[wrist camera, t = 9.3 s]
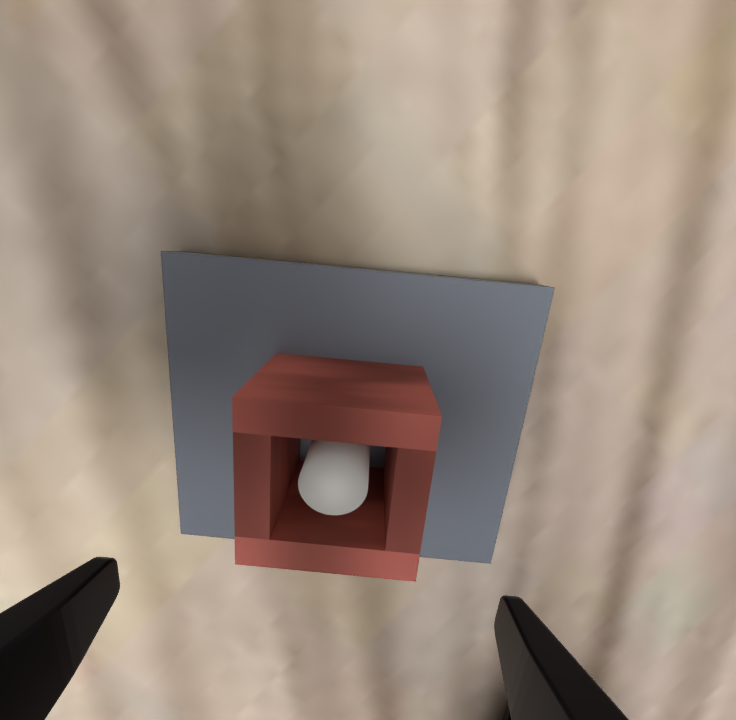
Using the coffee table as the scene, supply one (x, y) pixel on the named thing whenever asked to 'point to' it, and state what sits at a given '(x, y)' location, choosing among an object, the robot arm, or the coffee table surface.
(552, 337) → the coffee table surface
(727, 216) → the coffee table surface
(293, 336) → the flat gray board
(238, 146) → the coffee table surface
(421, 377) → the red square tube
